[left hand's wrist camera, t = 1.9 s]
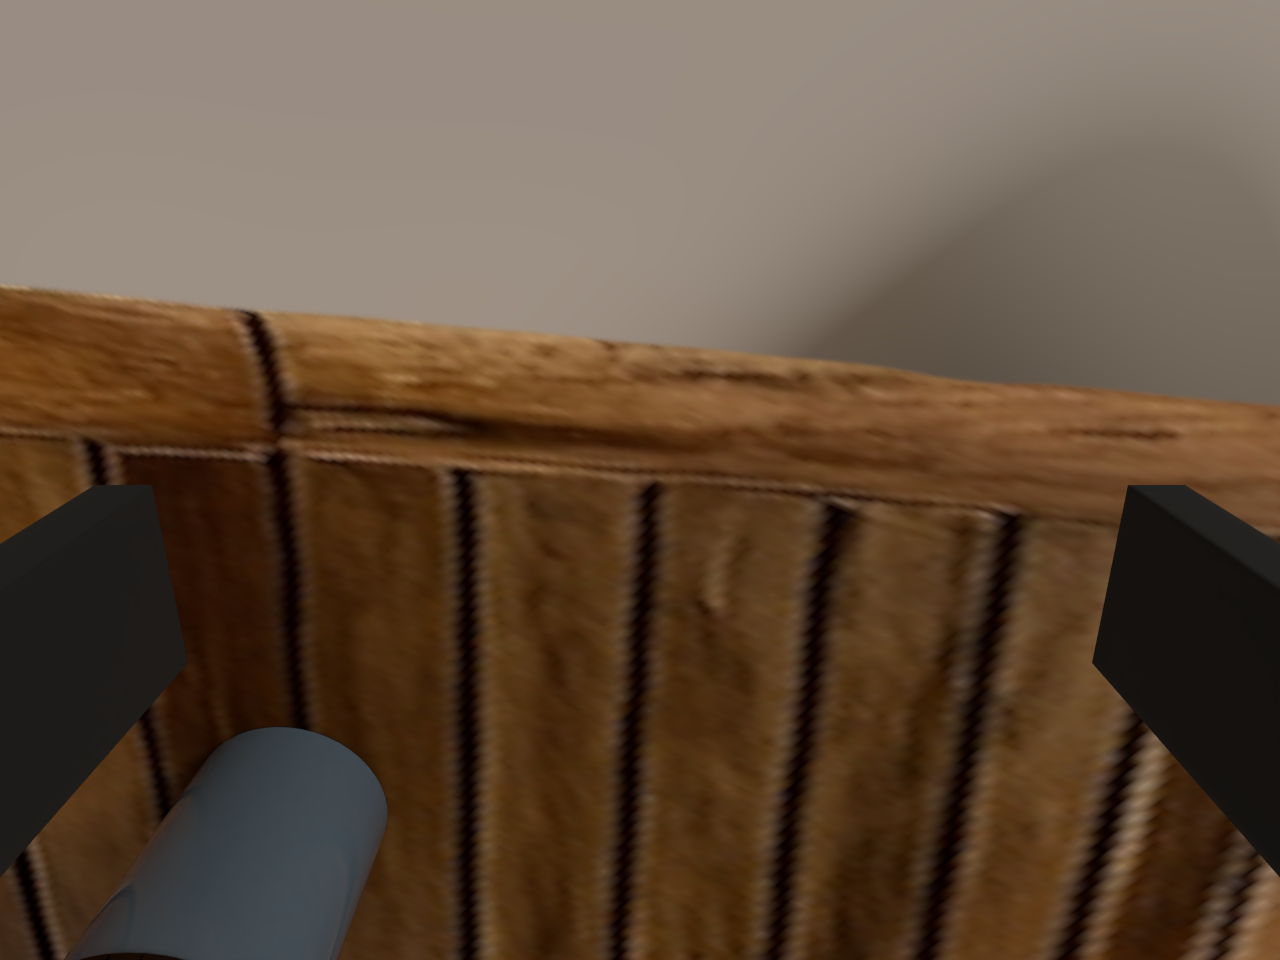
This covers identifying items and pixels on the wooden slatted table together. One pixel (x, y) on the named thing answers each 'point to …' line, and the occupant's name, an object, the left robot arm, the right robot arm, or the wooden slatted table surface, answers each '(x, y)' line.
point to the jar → (252, 857)
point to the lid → (130, 956)
